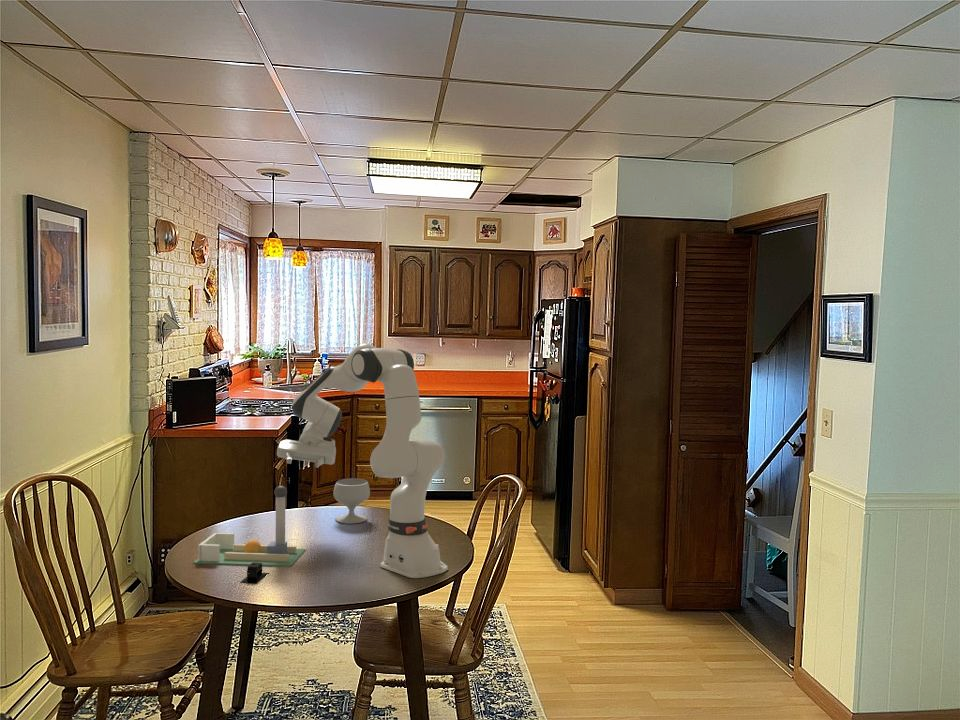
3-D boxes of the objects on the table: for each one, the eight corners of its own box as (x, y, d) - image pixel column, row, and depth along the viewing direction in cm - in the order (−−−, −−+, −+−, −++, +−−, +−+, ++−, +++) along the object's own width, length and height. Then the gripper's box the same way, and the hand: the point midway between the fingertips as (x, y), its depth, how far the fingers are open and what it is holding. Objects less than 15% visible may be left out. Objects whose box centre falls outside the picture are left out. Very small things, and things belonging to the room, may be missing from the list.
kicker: (288, 552, 232) (289, 484, 230) (283, 557, 227) (284, 488, 225) (271, 551, 232) (272, 483, 230) (266, 556, 227) (267, 487, 225)
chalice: (371, 524, 269) (372, 485, 268) (334, 526, 265) (335, 486, 264) (367, 514, 282) (367, 477, 282) (331, 516, 278) (332, 478, 278)
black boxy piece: (252, 571, 218) (252, 557, 218) (275, 573, 217) (275, 558, 217) (233, 586, 206) (233, 571, 205) (257, 588, 205) (257, 572, 204)
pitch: (305, 550, 237) (305, 548, 237) (291, 566, 221) (291, 565, 221) (213, 547, 238) (213, 545, 238) (193, 563, 222) (193, 562, 222)
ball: (263, 556, 229) (263, 540, 229) (247, 558, 226) (247, 543, 226) (257, 551, 233) (257, 536, 233) (242, 554, 230) (242, 539, 230)
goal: (298, 550, 236) (298, 535, 235) (286, 563, 223) (286, 547, 222) (214, 547, 236) (214, 532, 236) (198, 560, 223) (198, 545, 223)
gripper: (282, 432, 253) (272, 451, 240) (339, 440, 255) (333, 460, 242) (280, 447, 255) (271, 467, 243) (337, 455, 257) (331, 475, 244)
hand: (302, 463), depth 242 cm, fingers open, 8 cm apart
